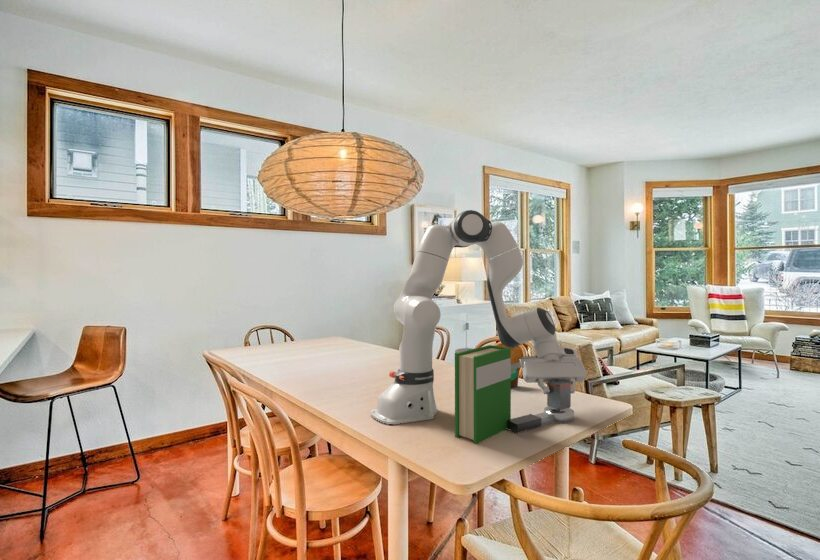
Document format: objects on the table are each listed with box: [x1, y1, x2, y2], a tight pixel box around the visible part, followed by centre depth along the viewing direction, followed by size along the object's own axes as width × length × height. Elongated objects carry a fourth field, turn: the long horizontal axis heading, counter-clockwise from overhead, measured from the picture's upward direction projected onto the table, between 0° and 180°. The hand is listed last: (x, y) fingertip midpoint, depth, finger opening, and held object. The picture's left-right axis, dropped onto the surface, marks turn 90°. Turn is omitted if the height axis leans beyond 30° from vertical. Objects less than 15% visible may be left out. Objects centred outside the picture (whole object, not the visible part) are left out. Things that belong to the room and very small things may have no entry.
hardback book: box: [454, 344, 512, 445], centre depth 128 cm, size 18×7×24 cm, turn 136°
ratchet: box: [506, 406, 575, 434], centre depth 135 cm, size 25×9×6 cm, turn 121°
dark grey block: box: [546, 379, 572, 410], centre depth 139 cm, size 5×5×8 cm
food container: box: [511, 361, 522, 389], centre depth 176 cm, size 12×6×10 cm, turn 70°
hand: (559, 392), depth 139 cm, fingers closed on dark grey block, 7 cm apart
